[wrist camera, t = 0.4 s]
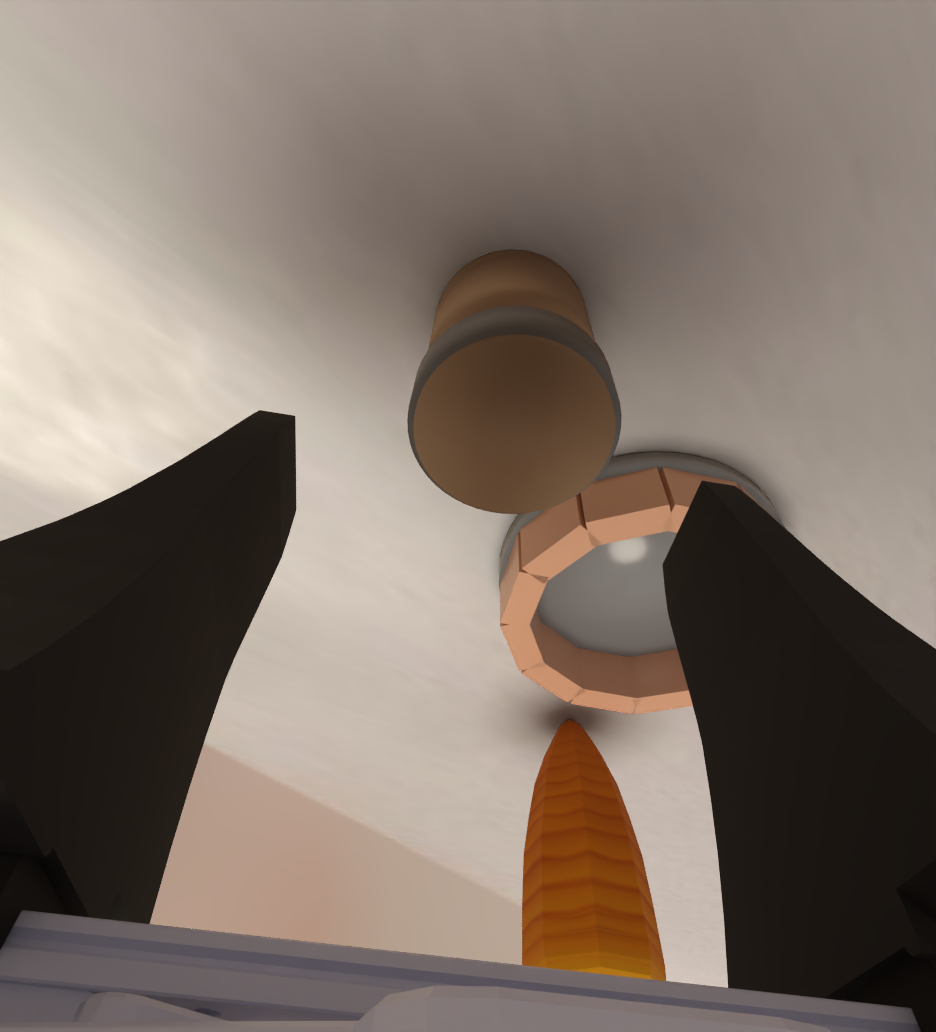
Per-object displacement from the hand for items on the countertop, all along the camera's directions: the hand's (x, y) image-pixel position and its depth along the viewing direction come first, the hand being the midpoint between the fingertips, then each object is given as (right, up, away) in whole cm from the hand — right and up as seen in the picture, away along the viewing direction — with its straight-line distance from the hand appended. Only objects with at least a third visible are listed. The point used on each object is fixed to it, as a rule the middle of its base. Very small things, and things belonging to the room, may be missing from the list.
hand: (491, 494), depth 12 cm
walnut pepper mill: (+1, +5, +7) cm, 9 cm away
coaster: (+6, -2, +13) cm, 14 cm away
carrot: (+4, -10, +19) cm, 22 cm away
